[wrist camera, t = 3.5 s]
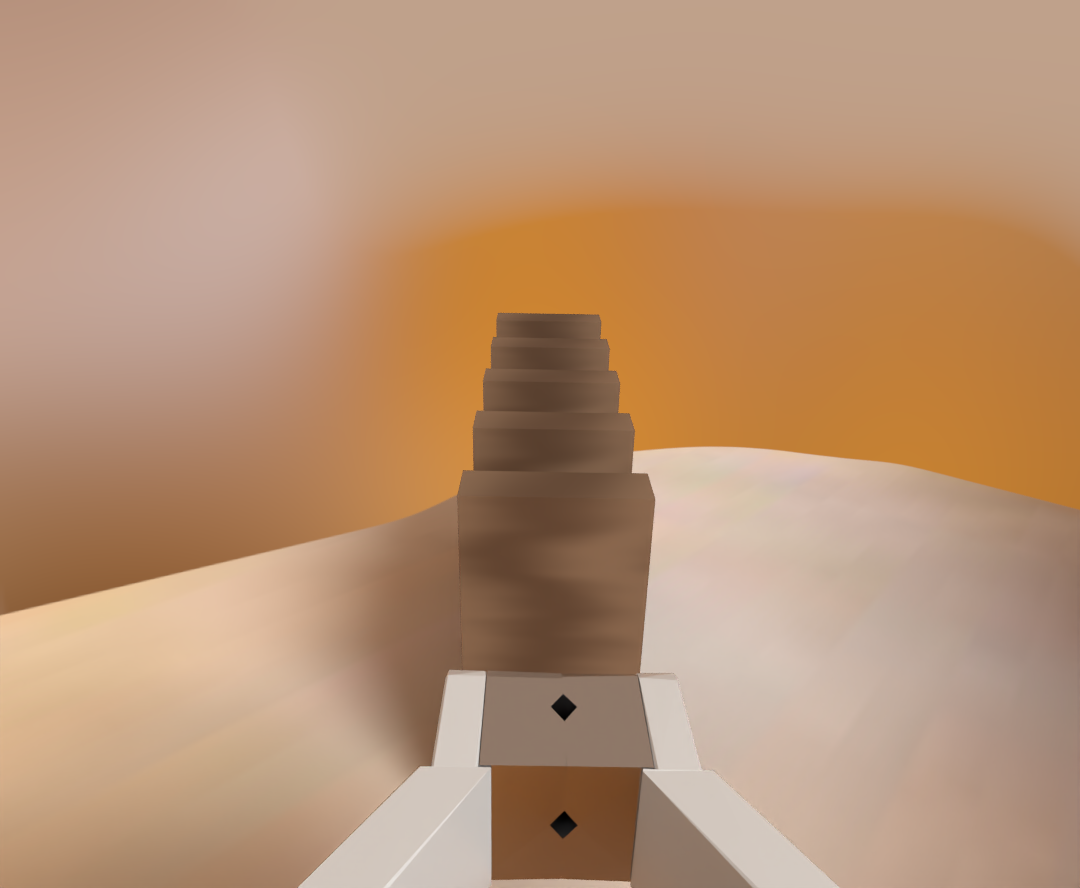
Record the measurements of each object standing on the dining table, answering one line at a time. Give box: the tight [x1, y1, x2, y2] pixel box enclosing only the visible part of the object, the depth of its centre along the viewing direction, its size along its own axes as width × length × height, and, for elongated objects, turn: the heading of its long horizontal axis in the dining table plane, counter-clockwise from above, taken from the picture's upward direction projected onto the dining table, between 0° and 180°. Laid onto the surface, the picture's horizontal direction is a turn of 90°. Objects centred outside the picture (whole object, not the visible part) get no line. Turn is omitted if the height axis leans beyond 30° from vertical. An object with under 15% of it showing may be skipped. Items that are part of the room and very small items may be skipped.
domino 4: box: [473, 411, 635, 473], centre depth 32 cm, size 6×2×15 cm, turn 90°
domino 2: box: [491, 337, 610, 371], centre depth 42 cm, size 6×2×15 cm, turn 90°
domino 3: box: [483, 369, 620, 413], centre depth 37 cm, size 6×2×15 cm, turn 90°
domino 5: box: [457, 470, 655, 675], centre depth 26 cm, size 6×2×15 cm, turn 90°
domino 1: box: [497, 313, 601, 339], centre depth 47 cm, size 6×2×15 cm, turn 90°
